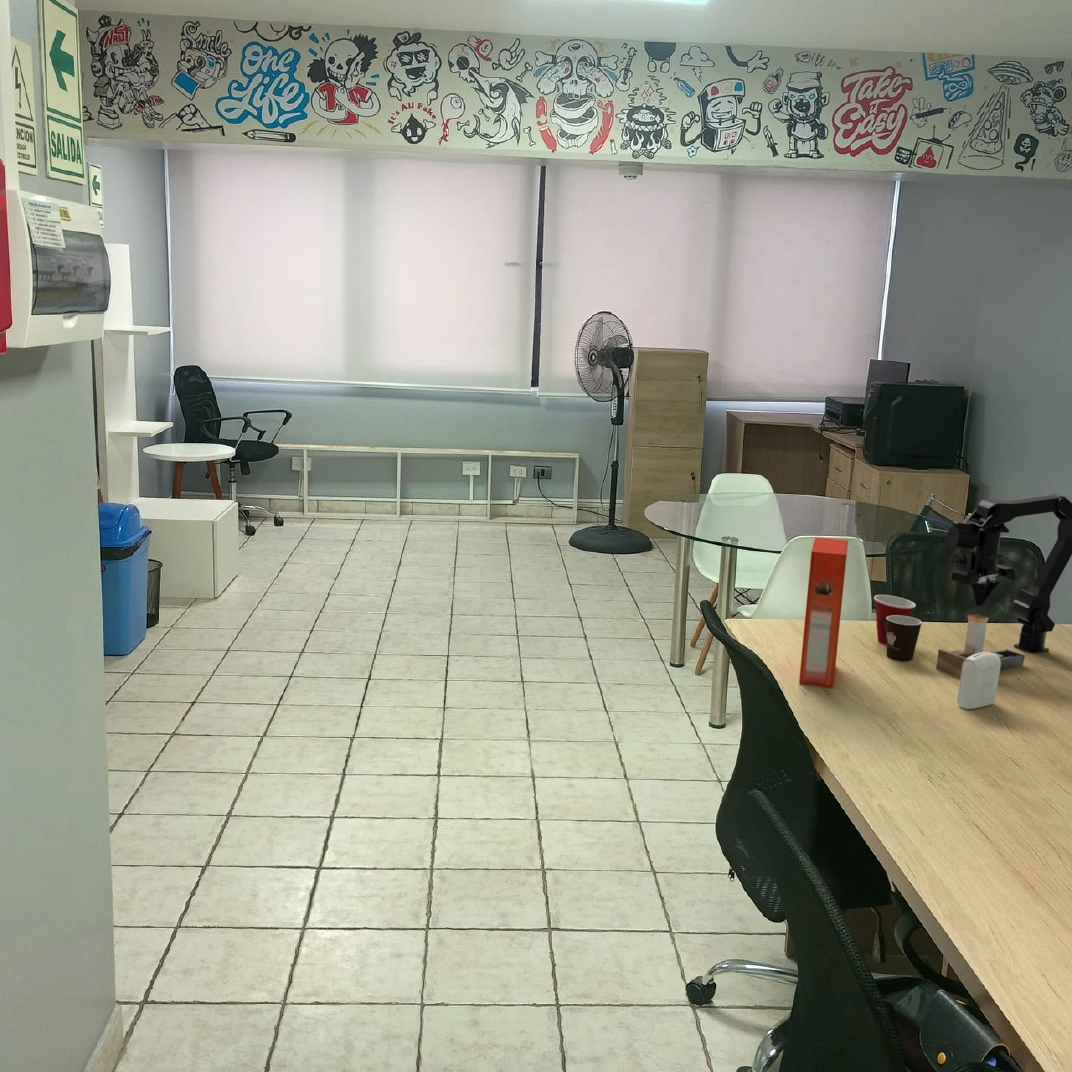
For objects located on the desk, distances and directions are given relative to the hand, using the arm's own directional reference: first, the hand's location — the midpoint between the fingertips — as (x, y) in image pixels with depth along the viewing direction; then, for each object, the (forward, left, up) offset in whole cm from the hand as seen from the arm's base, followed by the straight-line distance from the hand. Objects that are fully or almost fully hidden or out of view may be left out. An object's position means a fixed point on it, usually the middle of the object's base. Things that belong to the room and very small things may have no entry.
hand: (978, 605), depth 288 cm
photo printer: (+35, +29, -12) cm, 47 cm away
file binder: (+55, -1, -12) cm, 56 cm away
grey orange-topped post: (+12, +12, -11) cm, 21 cm away
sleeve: (+5, +12, -12) cm, 18 cm away
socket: (+18, +12, -12) cm, 25 cm away
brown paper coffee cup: (+24, -4, -12) cm, 27 cm away
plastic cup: (+17, -13, -12) cm, 25 cm away
